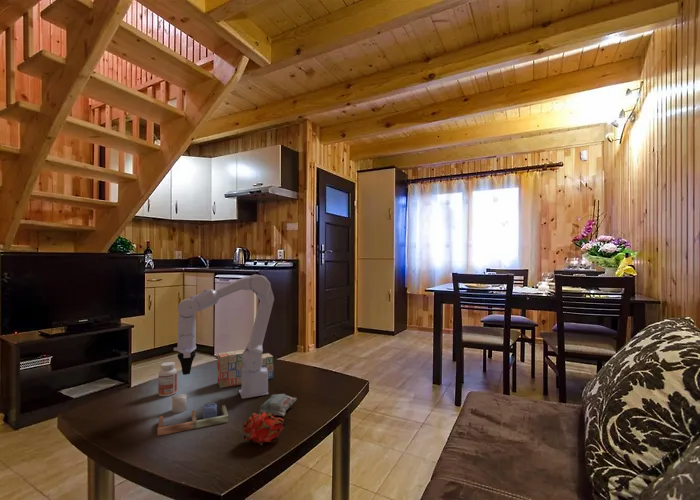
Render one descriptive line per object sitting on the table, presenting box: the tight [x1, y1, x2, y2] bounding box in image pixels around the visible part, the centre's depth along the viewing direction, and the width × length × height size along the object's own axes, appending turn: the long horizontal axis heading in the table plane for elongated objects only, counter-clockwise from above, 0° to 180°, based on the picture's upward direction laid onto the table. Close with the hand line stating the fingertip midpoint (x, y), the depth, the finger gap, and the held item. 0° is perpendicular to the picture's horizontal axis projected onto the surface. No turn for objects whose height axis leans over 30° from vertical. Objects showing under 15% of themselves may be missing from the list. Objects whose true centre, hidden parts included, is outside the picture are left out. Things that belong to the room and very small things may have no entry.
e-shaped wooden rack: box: [157, 404, 229, 437], centre depth 106 cm, size 19×9×2 cm, turn 116°
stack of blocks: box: [216, 349, 274, 389], centre depth 142 cm, size 21×6×12 cm, turn 120°
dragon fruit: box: [241, 412, 287, 447], centre depth 94 cm, size 8×8×12 cm
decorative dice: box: [202, 402, 218, 419], centre depth 108 cm, size 4×4×4 cm
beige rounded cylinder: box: [171, 393, 188, 414], centre depth 114 cm, size 4×4×4 cm
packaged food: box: [258, 393, 298, 417], centre depth 113 cm, size 9×12×5 cm
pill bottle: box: [157, 361, 178, 397], centre depth 129 cm, size 6×6×11 cm
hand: (186, 373), depth 119 cm, fingers closed
